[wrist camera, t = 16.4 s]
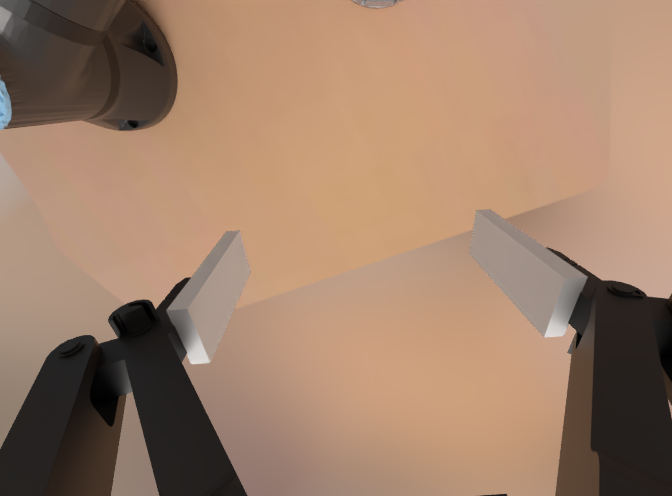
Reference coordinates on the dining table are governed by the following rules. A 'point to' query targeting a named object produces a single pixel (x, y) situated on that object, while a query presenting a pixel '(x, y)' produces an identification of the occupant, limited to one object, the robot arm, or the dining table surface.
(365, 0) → the round holder
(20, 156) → the dining table surface
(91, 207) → the dining table surface
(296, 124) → the dining table surface
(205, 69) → the dining table surface
